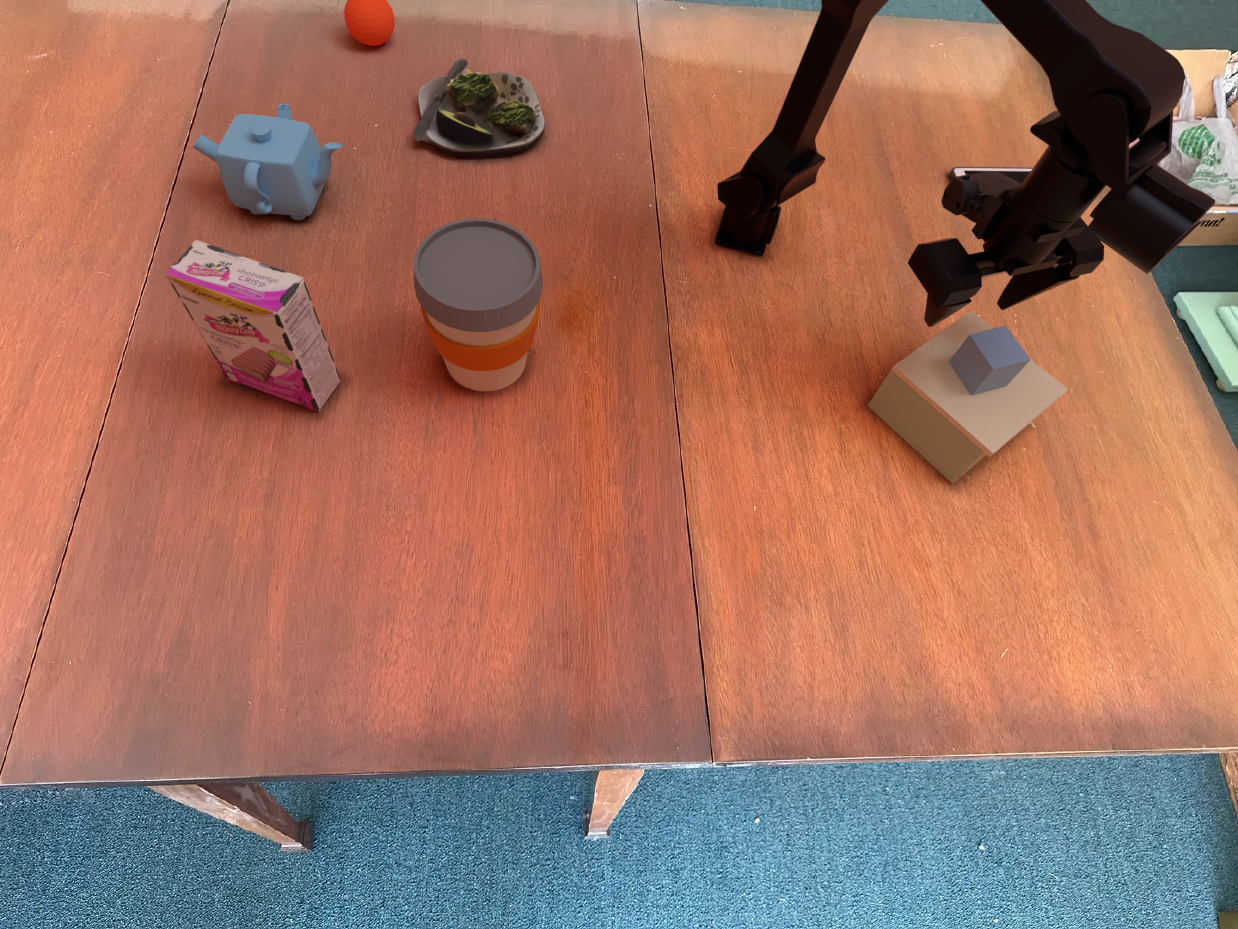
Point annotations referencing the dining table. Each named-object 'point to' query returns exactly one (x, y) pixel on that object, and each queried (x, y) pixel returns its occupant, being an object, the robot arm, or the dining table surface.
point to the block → (989, 360)
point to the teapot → (271, 163)
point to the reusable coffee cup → (480, 299)
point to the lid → (985, 413)
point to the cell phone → (1014, 174)
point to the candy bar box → (257, 324)
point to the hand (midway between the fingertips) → (964, 314)
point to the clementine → (369, 20)
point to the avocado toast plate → (479, 113)
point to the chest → (924, 428)
